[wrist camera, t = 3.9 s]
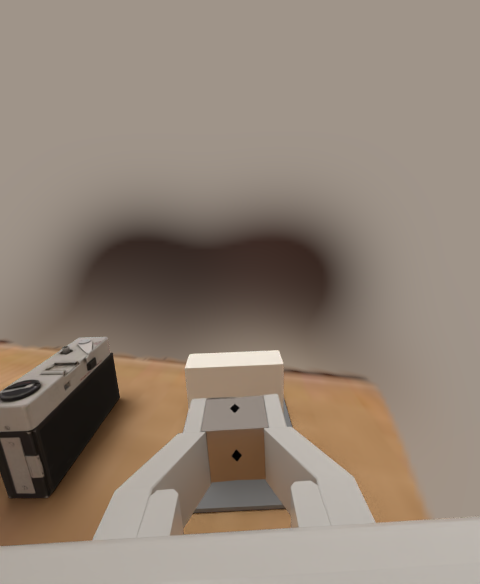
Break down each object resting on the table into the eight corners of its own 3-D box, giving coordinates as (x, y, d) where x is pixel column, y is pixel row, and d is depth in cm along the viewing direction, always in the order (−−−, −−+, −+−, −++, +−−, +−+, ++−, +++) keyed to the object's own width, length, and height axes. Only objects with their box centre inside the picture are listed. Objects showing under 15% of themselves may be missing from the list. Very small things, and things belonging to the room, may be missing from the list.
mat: (166, 514, 21) (165, 510, 21) (197, 383, 38) (196, 381, 38) (313, 506, 21) (313, 503, 21) (277, 380, 39) (277, 377, 38)
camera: (71, 394, 37) (59, 329, 34) (132, 400, 36) (124, 333, 33) (-44, 491, 24) (-78, 396, 21) (46, 506, 22) (21, 406, 20)
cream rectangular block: (195, 476, 24) (184, 368, 21) (199, 453, 26) (189, 353, 23) (283, 472, 24) (283, 364, 21) (278, 449, 26) (278, 349, 23)
